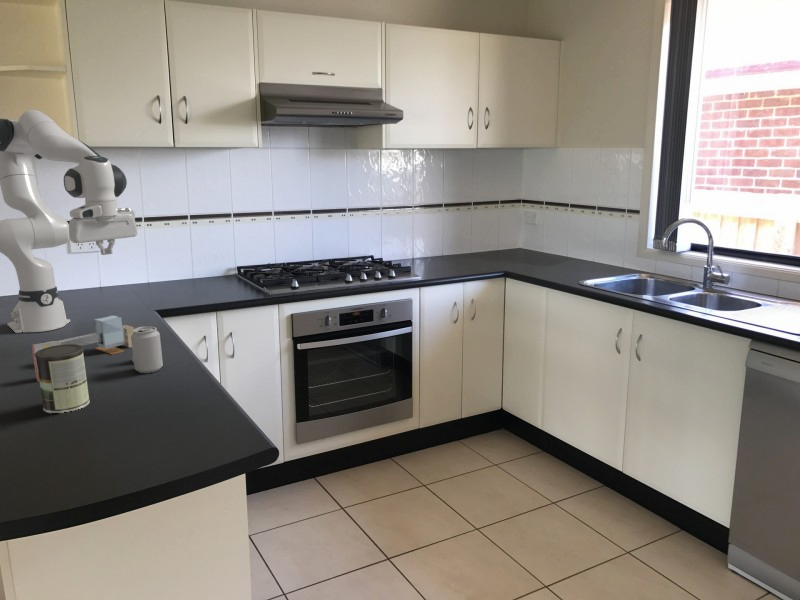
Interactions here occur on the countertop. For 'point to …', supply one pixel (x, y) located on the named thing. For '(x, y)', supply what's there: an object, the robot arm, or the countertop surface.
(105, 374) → the countertop surface
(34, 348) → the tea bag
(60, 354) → the coffee can
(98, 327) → the light blue block
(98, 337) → the rail
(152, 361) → the can
